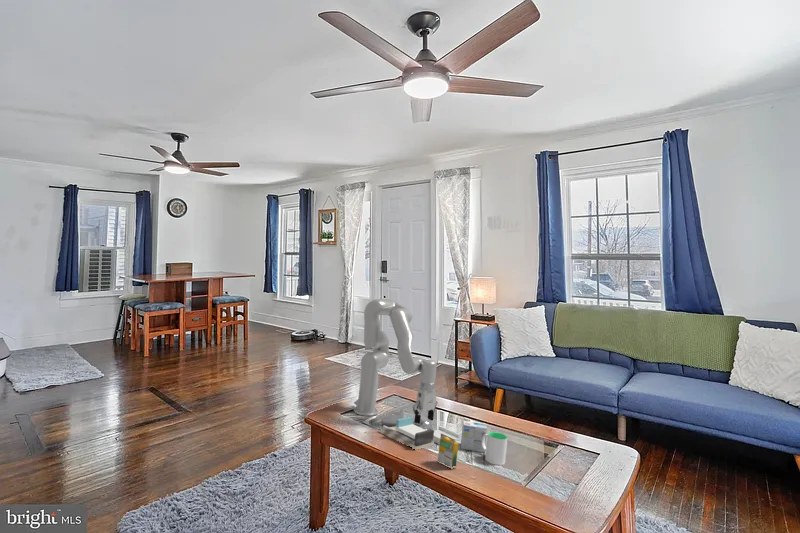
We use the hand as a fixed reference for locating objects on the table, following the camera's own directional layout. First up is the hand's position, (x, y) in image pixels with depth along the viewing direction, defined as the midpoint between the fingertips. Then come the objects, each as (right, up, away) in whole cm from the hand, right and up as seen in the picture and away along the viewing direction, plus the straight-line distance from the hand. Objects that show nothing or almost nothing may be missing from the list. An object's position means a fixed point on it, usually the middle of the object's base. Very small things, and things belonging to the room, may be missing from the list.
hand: (423, 421), depth 193 cm
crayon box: (+7, -3, -37) cm, 38 cm away
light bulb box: (+21, -6, -16) cm, 27 cm away
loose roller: (-1, -4, 0) cm, 4 cm away
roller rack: (+7, -4, -8) cm, 12 cm away
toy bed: (-6, 0, -17) cm, 18 cm away
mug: (+27, -6, -26) cm, 38 cm away
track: (-9, -2, -15) cm, 17 cm away
